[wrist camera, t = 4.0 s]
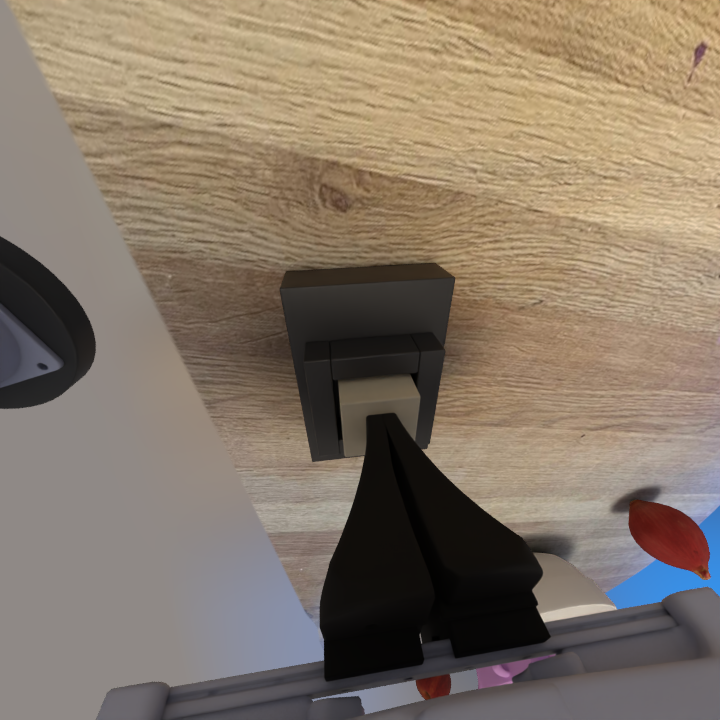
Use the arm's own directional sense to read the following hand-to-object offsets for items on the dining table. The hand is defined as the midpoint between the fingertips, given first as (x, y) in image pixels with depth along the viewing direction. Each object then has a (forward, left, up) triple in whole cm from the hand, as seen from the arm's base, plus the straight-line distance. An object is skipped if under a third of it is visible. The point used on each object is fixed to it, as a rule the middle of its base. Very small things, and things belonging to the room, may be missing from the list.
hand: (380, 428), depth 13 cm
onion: (+26, -31, -6) cm, 41 cm away
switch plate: (0, 0, -6) cm, 6 cm away
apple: (-7, -85, -6) cm, 86 cm away
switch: (0, 0, -2) cm, 2 cm away
